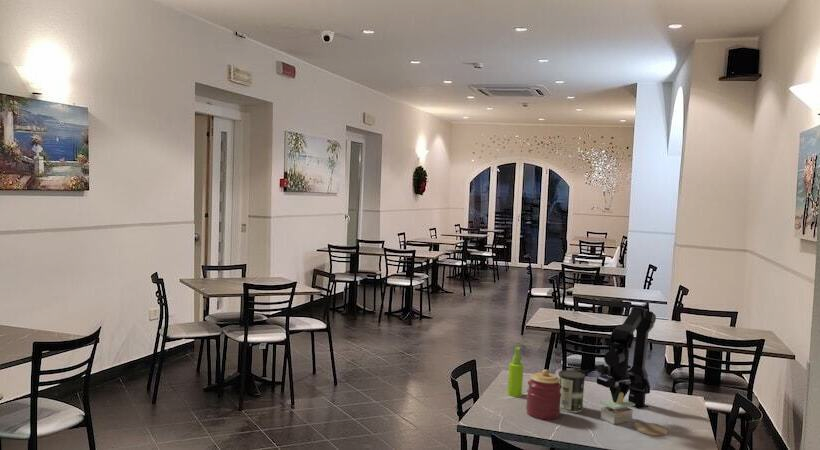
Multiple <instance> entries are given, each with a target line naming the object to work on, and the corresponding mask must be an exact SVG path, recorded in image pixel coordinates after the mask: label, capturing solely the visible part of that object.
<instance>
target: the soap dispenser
mask: <svg viewBox="0 0 820 450" xmlns="http://www.w3.org/2000/svg"><path fill="white" fill-rule="evenodd" d="M521 349H522V346H515V348H514V351H515V354H514V355H512V362H509V363H508V364H509V365H508V366H509V367H508V381H507V383H508V384H507V395H508V396H509V397H513V398H519V397H522V393H523V380H524V366H525V364H524V363H522V355H520V350H521Z"/></svg>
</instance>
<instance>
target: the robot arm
mask: <svg viewBox="0 0 820 450" xmlns="http://www.w3.org/2000/svg"><path fill="white" fill-rule="evenodd" d="M656 319H657V317H656V314H655V313H654V312H653V311H651V310H647V309H646V308H644V307H638V306H632V307H631V310H630V313H629V314H628V315H627V317H626V318H625V320H624V322H623V323H622V324H620V325H619V324H618V325H617V326H615V328H614V329H613V330H612V331H611V334H610V337H609V341H608V344H607V347H609V351H607V352H606V353H604V357H603V360H604V363H605V364H606V365H607V366H606V365H605V364H599V365H597V373H598V374H600V375H599V376H597V378H596V384H597V385H599V386H602V387H605V388H608V389H609V391H610V394H611V399H613V402H616V401H617V399H618V396H619V392H623V393H624V396H623V399H625V397H626V395H627V394H628V399H627V401H629V402H632V403H634V404H635V406H632V408H636V409H642V408H648V404H647V403H646V395H647V394H648V395H649V394H651V383H650V381H649V378H648V377H649V374H648V372H647V370H646V368H645V365H646V357H647V349H648V348H647V347H648V342H649V341H648V339H649V333H650V331H651V330H652V329H653V328H654V324H655V322H656ZM635 331H636V334H634V332H635ZM634 341H635V342H634ZM633 345H634V352H633V359H632V360H633V361H632V366H631V365H630V364H629V360H630V349H632V347H633ZM628 392H629V393H628Z"/></svg>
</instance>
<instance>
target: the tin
mask: <svg viewBox="0 0 820 450" xmlns="http://www.w3.org/2000/svg"><path fill="white" fill-rule="evenodd" d="M633 412H634V410H633V409H632V408H631V407H626V408H621V409H615V410H614V409H612V408H609V407H607V406H603V407H601V408H600V420H603V421H605V422H607V423H608V424H611V425H612V426H614V425H620V424H621V425H622V424H625V423H630V422H633Z"/></svg>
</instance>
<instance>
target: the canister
mask: <svg viewBox="0 0 820 450" xmlns="http://www.w3.org/2000/svg"><path fill="white" fill-rule="evenodd" d="M529 378H530V380H528V381H527V385H528V389H527V390H526V392H527V395H526V396H527V397H526V405H525V409H526V410H525V411H526V414H527V415H529V416H530V417H532V418H535V419H539V420H556V419H558V418H559V416H560V414H561V410H560V399H561V393H560V389H561V388H562V385H561V384H560V383H559V382H560V379H559V376H557V375H555V374H554V373H551V372H550V371H549V370H548V369H543V370H542V371H541V372H539V371H538V372H535V373H533V374H531V375H530V377H529Z"/></svg>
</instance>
